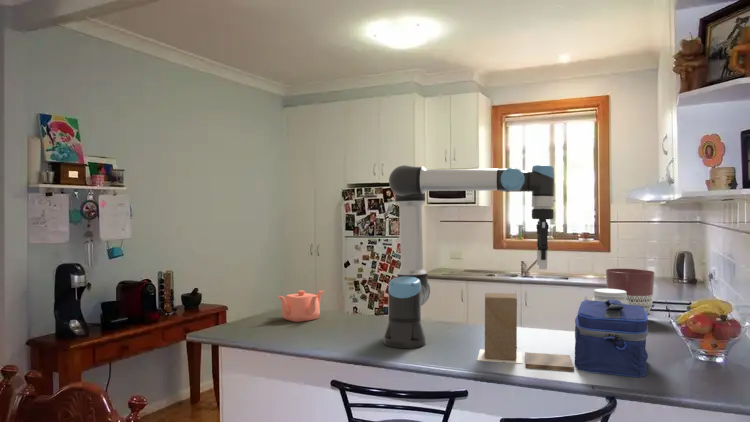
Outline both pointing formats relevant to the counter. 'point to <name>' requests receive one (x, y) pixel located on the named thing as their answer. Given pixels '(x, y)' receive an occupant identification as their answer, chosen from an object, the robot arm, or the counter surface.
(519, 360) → the tile
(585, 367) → the lunch bag
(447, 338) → the counter surface
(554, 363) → the board
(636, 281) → the planter
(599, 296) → the supplement tub
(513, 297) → the wooden block
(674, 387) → the counter surface
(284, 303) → the pot
